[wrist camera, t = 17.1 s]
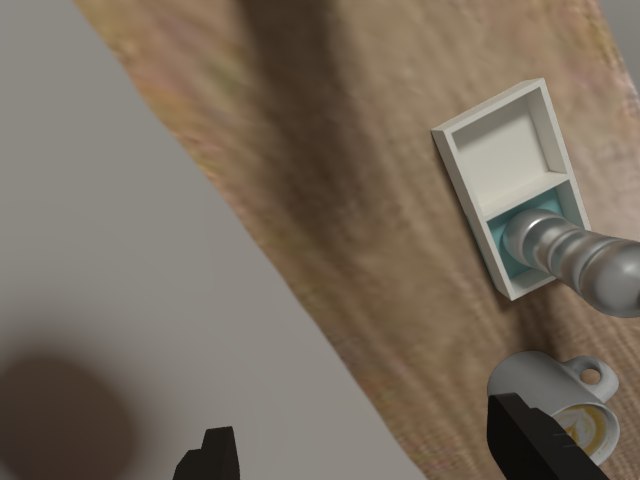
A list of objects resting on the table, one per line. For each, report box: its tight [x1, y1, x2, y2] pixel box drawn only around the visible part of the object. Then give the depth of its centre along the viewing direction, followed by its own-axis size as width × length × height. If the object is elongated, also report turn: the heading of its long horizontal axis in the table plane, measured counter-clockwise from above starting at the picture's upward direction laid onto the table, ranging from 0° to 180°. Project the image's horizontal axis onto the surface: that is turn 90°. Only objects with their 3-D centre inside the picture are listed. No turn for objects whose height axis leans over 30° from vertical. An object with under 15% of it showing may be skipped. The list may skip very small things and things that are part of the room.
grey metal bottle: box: [503, 208, 640, 318], centre depth 37 cm, size 6×7×20 cm
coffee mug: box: [487, 351, 620, 466], centre depth 48 cm, size 13×10×10 cm
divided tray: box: [431, 78, 591, 301], centre depth 44 cm, size 21×11×4 cm, turn 27°
